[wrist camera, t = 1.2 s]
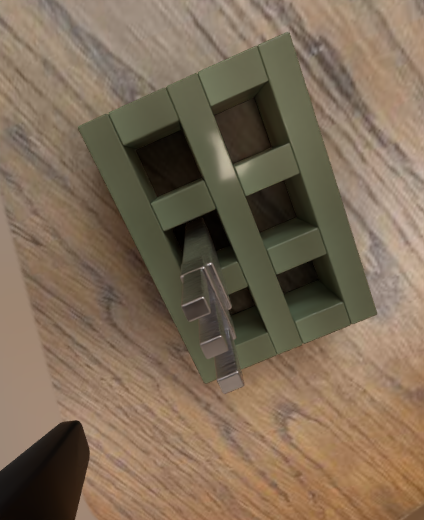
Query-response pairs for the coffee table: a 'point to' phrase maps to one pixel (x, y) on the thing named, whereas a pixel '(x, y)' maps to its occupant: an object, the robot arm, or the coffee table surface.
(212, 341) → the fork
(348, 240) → the rack
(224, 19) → the coffee table surface
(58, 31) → the coffee table surface
